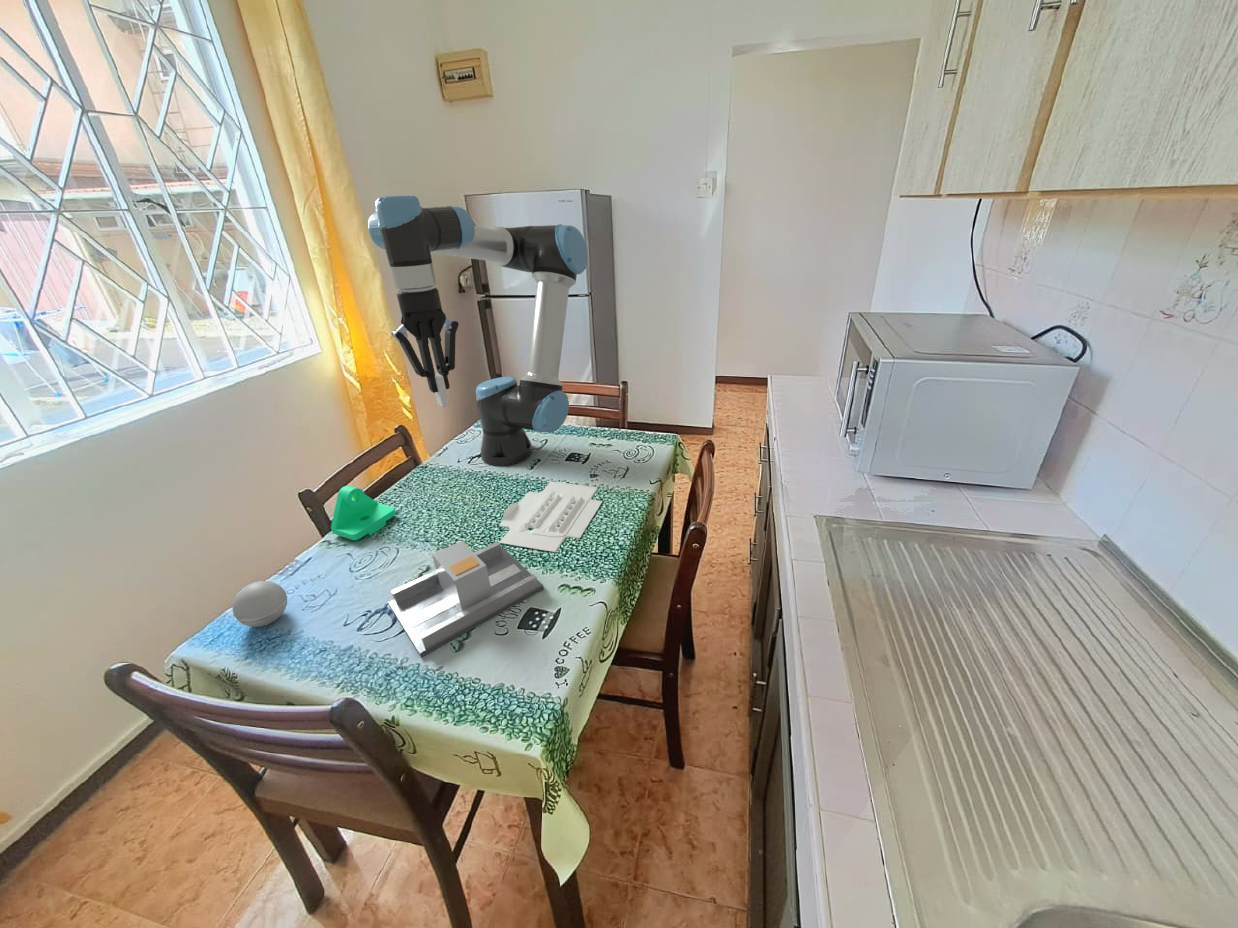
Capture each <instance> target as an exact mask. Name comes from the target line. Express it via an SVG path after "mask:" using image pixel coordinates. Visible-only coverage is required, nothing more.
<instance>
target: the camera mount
mask: <svg viewBox="0 0 1238 928" xmlns="http://www.w3.org/2000/svg"><path fill="white" fill-rule="evenodd" d="M334 507H335V508H334V511H333V516H332V521H331V526H330V529H331V532H332V534H333V535H336V536H338V537H342V538H345V539H347V540H352V541H357V540H361V538H362V537H365V536H366V535H368V536H372V535H373V534H375V533H377V532H378V531H380V530H381V529H382V528H384V527H385V526H387V521H389V520H390V519H392V518H394V517H395V516H396V515H397V512H396V510H395V507H393V506H390V505H386V504H383V503H379V502H377V501H376V500H375V499H373V498H371V497H370V496H368V495H367V494H365V492H364V490H363V489H361V488H359V487H356V486H351V485H345V486H342V487H341V488H340V489H339V491H338V492H337V496H336V502H335V506H334Z"/></svg>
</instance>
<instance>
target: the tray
mask: <svg viewBox="0 0 1238 928" xmlns="http://www.w3.org/2000/svg"><path fill="white" fill-rule="evenodd" d="M598 489H599V487H597V486H591V485H583V484H582V485H581V484H573V483H567V482H556V481H549V483H548V484H547V485H546V486H545V488H544V489H543V490H542V491H541V492H534V491H528V492H526V494H524V496H523V497H522V499H521V500H519V502H514V503H511V504H510V505H509V506H507V508H506V509H505V510H504V511H503V516H502V519H501V520H502V521H501V522H500V523H499V524H498V527H501V528H506V529H508V531H507V532H506V533H505V534H504V536H503V537H502V538H501V540H500V541H498V542H499V543H500V544H505V545H511V546H516V547H522V548H529V549H534V550H541V551H546V552H547V551H548V552H552V553H553V552H554V553H555V554H556V553H557V552H558V550H559V548H560V547H561V545H562V544H563V543H564V541H565V539H568V538H573V539H579V540H581V537H582V536H583V534H584V532H585V531H586V529H587V527H588V525H589V524H590V522H591V521H592V519H593V517H594V516H595V515H596V512H597V511H598V509H599V508H600V506H601V504H603V500H598V499H597V500H595V499H593V497H594V495H595V494H596V492H597V491H598ZM529 528H530V529H532V530H529Z"/></svg>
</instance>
